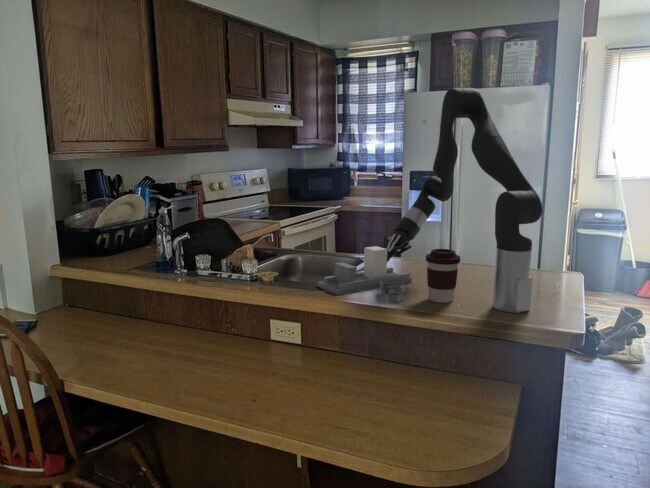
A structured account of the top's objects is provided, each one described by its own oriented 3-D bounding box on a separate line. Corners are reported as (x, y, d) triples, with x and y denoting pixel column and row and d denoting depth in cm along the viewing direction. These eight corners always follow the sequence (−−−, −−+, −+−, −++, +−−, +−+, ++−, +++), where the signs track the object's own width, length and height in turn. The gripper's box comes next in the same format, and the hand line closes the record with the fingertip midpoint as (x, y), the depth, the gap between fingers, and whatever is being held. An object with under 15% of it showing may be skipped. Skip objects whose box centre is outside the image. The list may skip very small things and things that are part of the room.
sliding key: (386, 278, 170) (387, 249, 168) (374, 280, 168) (375, 250, 166) (375, 274, 175) (376, 246, 173) (363, 276, 173) (364, 247, 171)
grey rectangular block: (359, 284, 163) (359, 266, 162) (348, 286, 161) (348, 268, 160) (345, 279, 170) (345, 261, 169) (334, 281, 168) (334, 263, 167)
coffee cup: (421, 294, 158) (423, 247, 155) (453, 295, 157) (456, 247, 155) (427, 304, 148) (429, 253, 145) (461, 305, 148) (464, 254, 145)
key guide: (411, 282, 172) (411, 273, 172) (337, 295, 157) (337, 285, 156) (389, 274, 182) (389, 266, 182) (317, 286, 167) (317, 277, 166)
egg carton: (379, 292, 161) (379, 280, 160) (403, 293, 160) (404, 280, 159) (379, 302, 151) (379, 288, 150) (404, 303, 150) (405, 289, 149)
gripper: (393, 214, 180) (364, 251, 176) (418, 218, 169) (388, 258, 165) (404, 227, 184) (376, 265, 179) (430, 233, 172) (401, 272, 168)
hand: (382, 261), depth 172 cm, fingers closed
